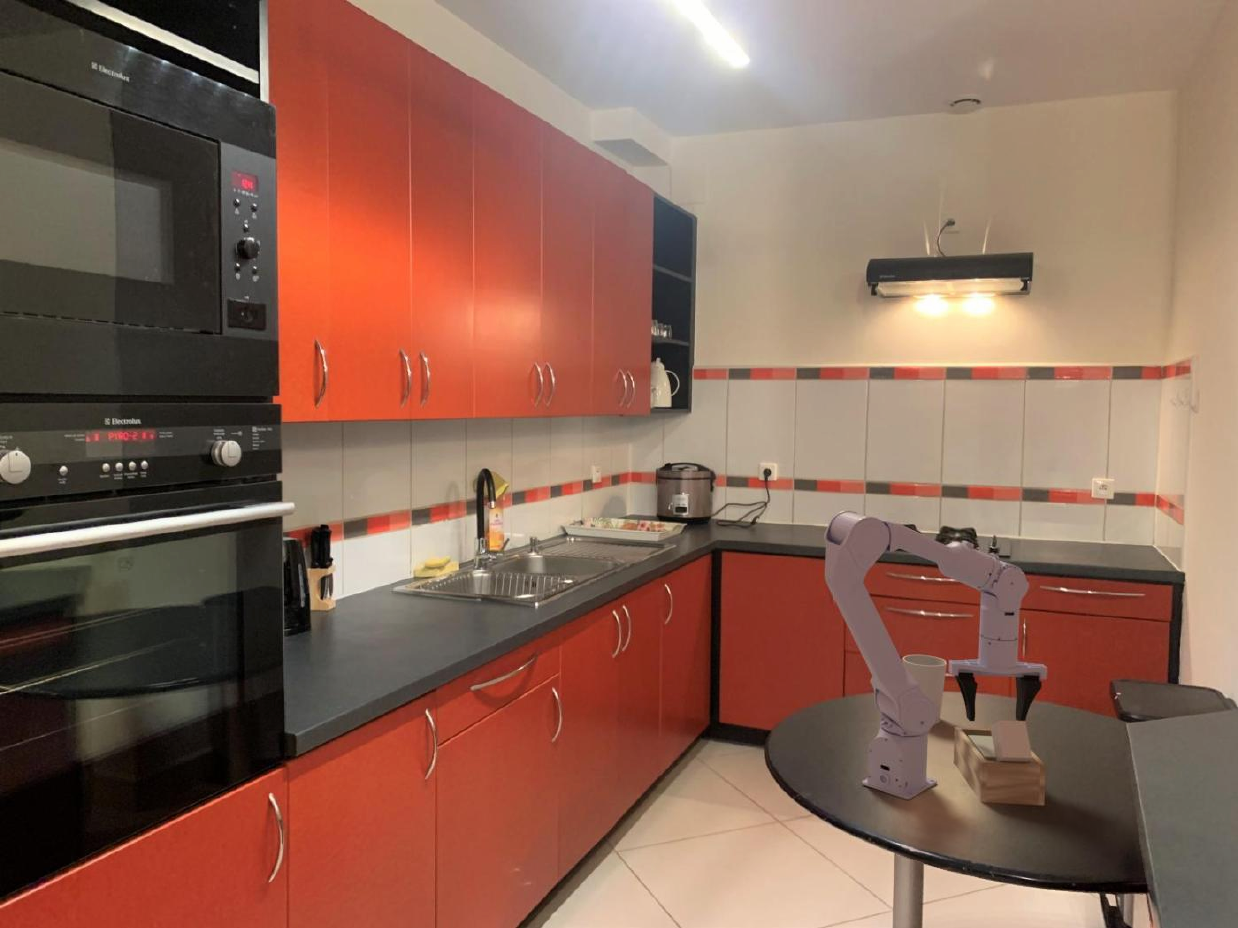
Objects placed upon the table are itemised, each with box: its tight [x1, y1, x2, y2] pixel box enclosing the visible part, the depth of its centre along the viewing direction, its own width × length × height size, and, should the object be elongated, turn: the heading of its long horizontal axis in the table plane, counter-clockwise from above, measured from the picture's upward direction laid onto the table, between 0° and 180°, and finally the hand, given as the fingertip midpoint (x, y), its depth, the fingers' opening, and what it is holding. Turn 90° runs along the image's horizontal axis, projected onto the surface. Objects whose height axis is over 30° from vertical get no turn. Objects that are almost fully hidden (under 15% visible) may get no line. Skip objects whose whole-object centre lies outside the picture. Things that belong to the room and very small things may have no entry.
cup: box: [901, 654, 948, 725], centre depth 170 cm, size 8×8×12 cm
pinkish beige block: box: [990, 719, 1032, 763], centre depth 136 cm, size 4×4×6 cm
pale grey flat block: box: [968, 735, 1031, 763], centre depth 141 cm, size 9×7×4 cm
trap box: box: [953, 726, 1047, 806], centre depth 142 cm, size 15×9×6 cm, turn 174°
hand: (995, 720), depth 143 cm, fingers open, 7 cm apart
